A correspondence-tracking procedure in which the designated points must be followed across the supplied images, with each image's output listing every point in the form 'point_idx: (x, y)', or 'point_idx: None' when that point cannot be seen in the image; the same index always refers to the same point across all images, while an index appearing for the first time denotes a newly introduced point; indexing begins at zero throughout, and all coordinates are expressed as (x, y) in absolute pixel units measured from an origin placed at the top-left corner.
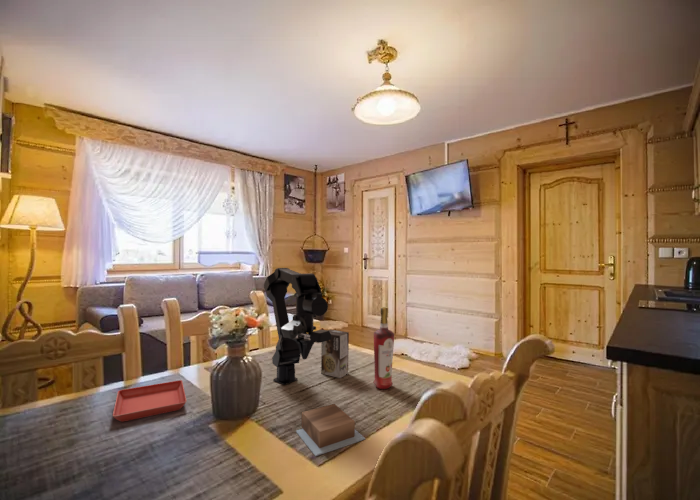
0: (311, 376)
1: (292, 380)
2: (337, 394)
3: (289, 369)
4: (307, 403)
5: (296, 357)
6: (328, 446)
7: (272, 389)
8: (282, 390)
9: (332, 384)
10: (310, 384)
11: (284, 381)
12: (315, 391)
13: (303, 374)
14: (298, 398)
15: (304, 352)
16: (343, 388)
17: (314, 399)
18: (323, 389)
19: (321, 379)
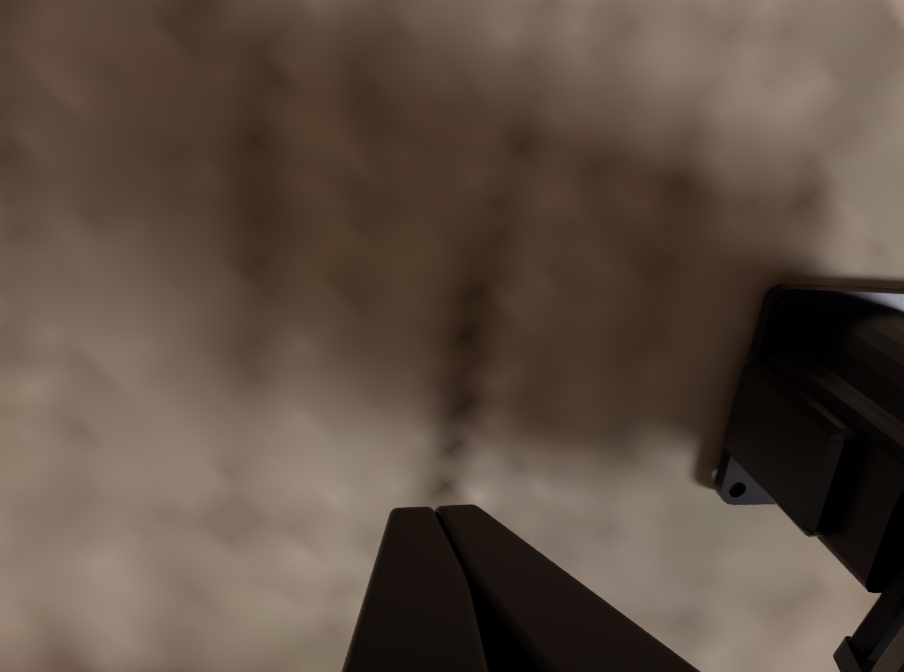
0: None
1: (735, 410)
2: (4, 514)
3: (863, 458)
4: (113, 54)
5: (899, 667)
6: None
7: (836, 96)
8: (700, 157)
9: (276, 659)
10: (501, 502)
11: (814, 333)
12: (307, 403)
13: (745, 628)
14: (344, 101)
15: (370, 665)
16: (81, 668)
17: (133, 218)
18: (264, 504)
19: None
